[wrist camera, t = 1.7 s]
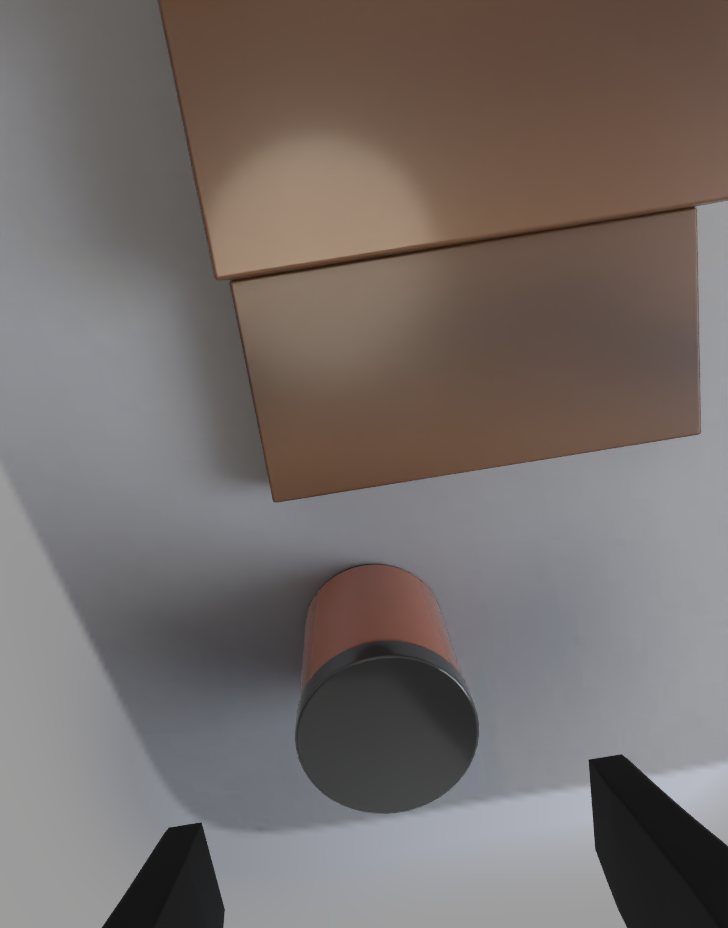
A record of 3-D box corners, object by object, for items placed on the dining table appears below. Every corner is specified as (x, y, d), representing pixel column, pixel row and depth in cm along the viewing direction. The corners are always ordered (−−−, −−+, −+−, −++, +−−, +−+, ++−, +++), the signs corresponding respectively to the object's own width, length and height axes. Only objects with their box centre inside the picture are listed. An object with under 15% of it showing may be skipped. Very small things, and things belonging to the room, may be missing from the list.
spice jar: (295, 681, 20) (284, 807, 15) (312, 553, 19) (307, 646, 14) (430, 694, 21) (461, 822, 16) (454, 570, 20) (495, 666, 15)
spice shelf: (673, 422, 19) (809, 480, 13) (277, 486, 19) (257, 569, 13) (650, -340, 14) (841, -705, 9) (130, -260, 14) (12, -581, 9)
